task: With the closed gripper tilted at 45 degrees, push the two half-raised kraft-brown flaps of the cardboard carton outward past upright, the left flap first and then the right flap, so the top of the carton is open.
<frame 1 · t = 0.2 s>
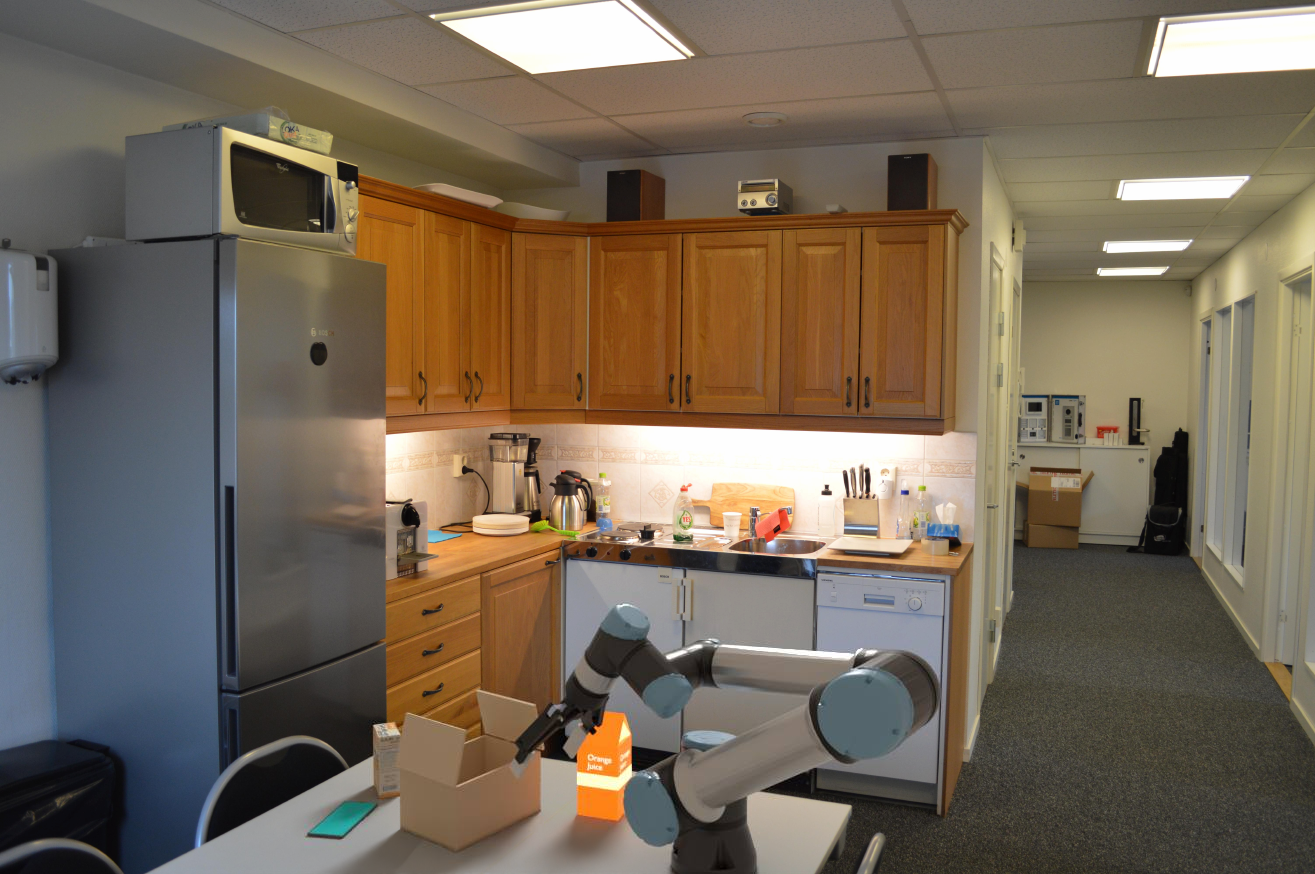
hand: (542, 762, 171), 16 cm above the table, fingers open, 13 cm apart
supplement box: (387, 790, 196), on the table
smartphone: (344, 822, 182), on the table
left flap: (430, 748, 174), point 17 cm above the table, hinge at 75.0°
right flap: (509, 719, 190), point 17 cm above the table, hinge at 75.0°
carton: (472, 819, 183), on the table
orange juice: (604, 810, 187), on the table
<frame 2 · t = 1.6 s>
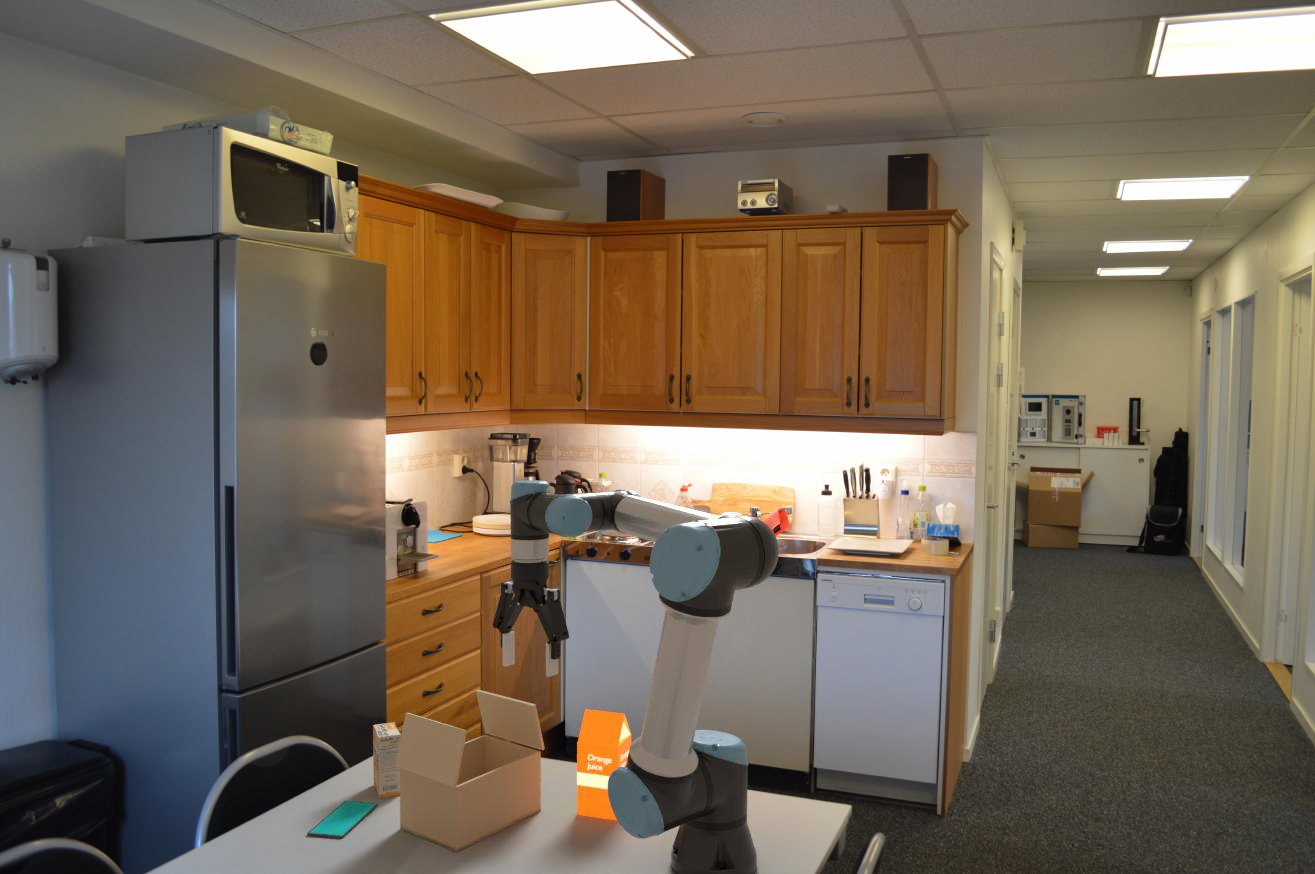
hand: (530, 669, 183), 29 cm above the table, fingers open, 11 cm apart
nothing on the table moved.
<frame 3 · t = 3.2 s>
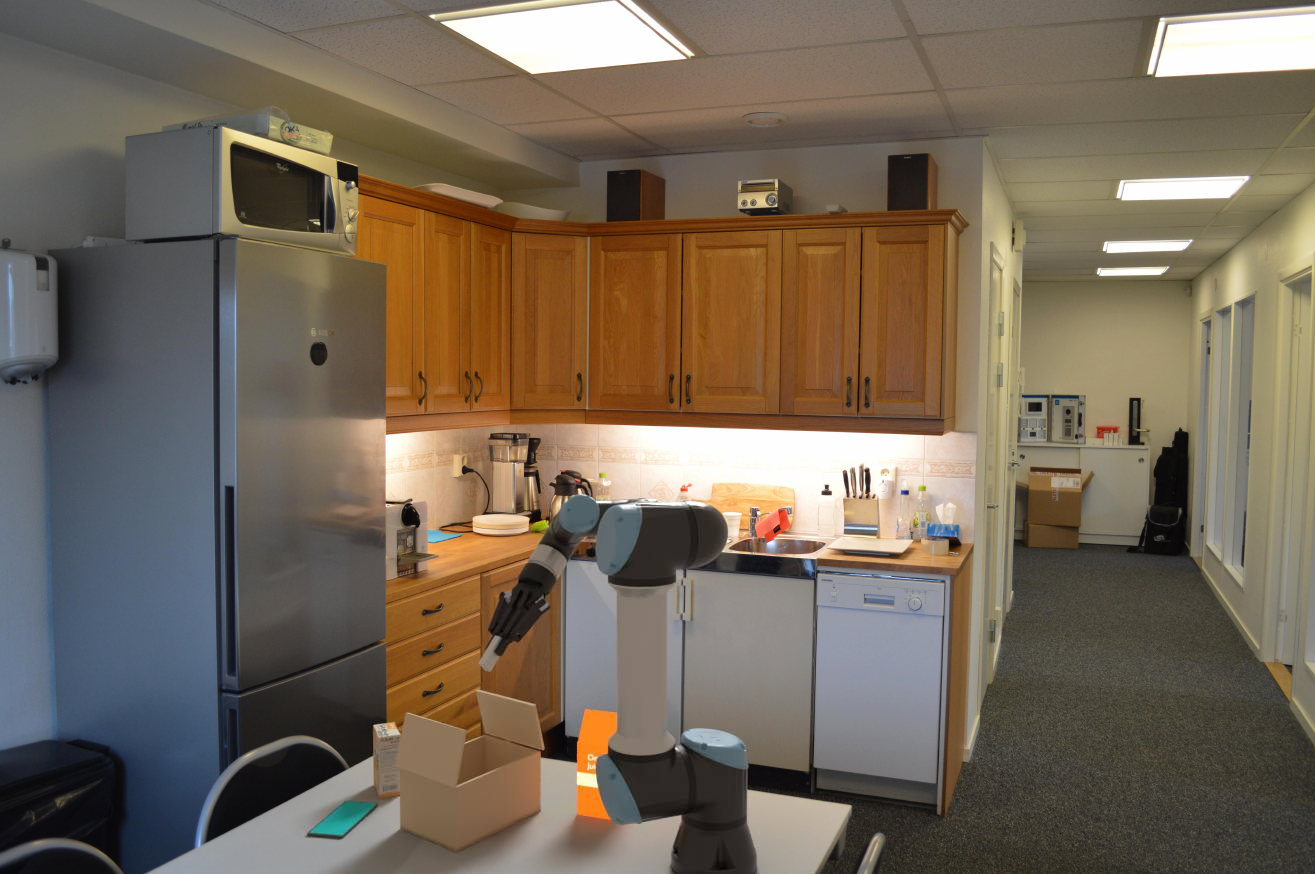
hand: (484, 667, 184), 29 cm above the table, fingers closed
nothing on the table moved.
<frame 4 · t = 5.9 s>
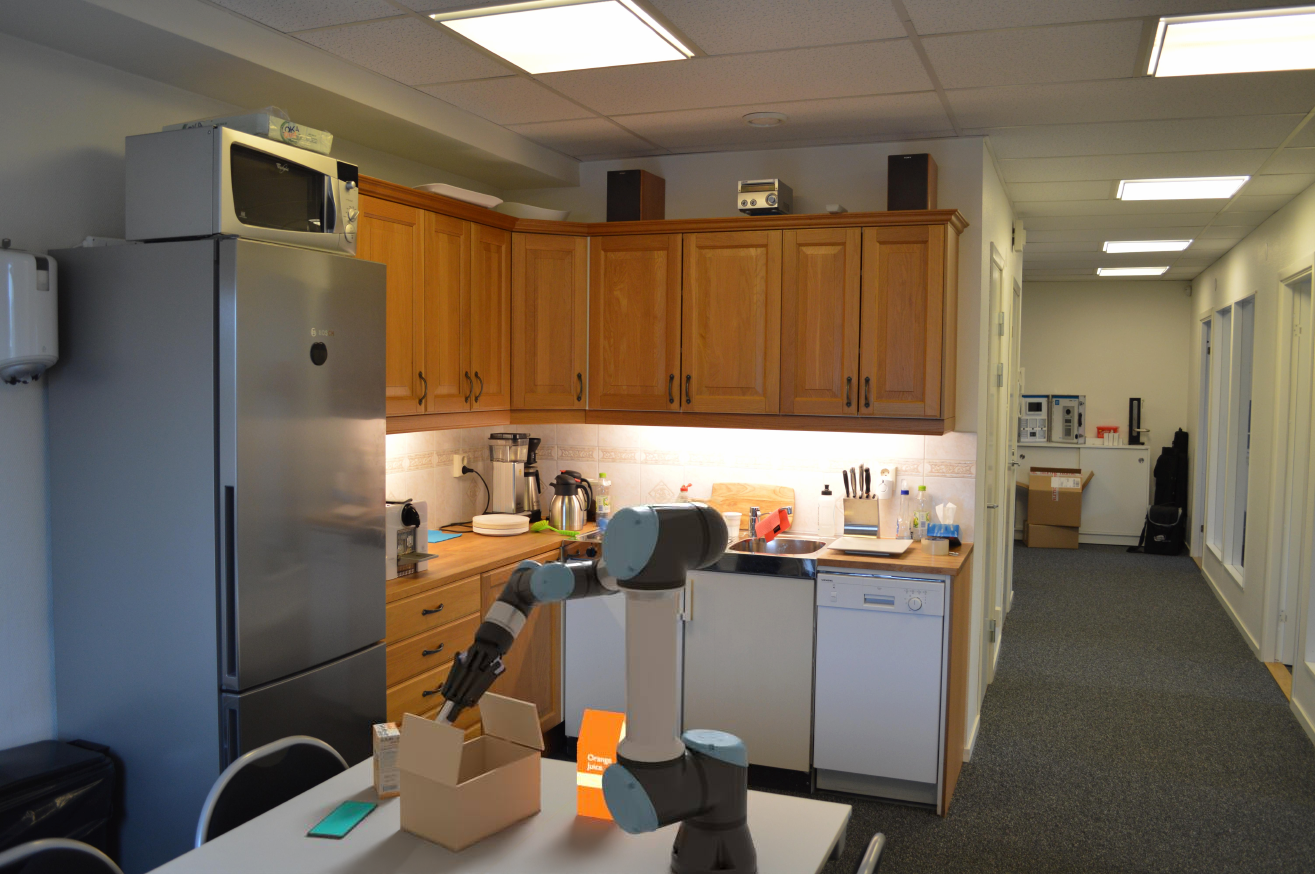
hand: (435, 735, 175), 19 cm above the table, fingers closed
left flap: (429, 748, 174), point 17 cm above the table, hinge at 77.6°, touching gripper
everything else where it was.
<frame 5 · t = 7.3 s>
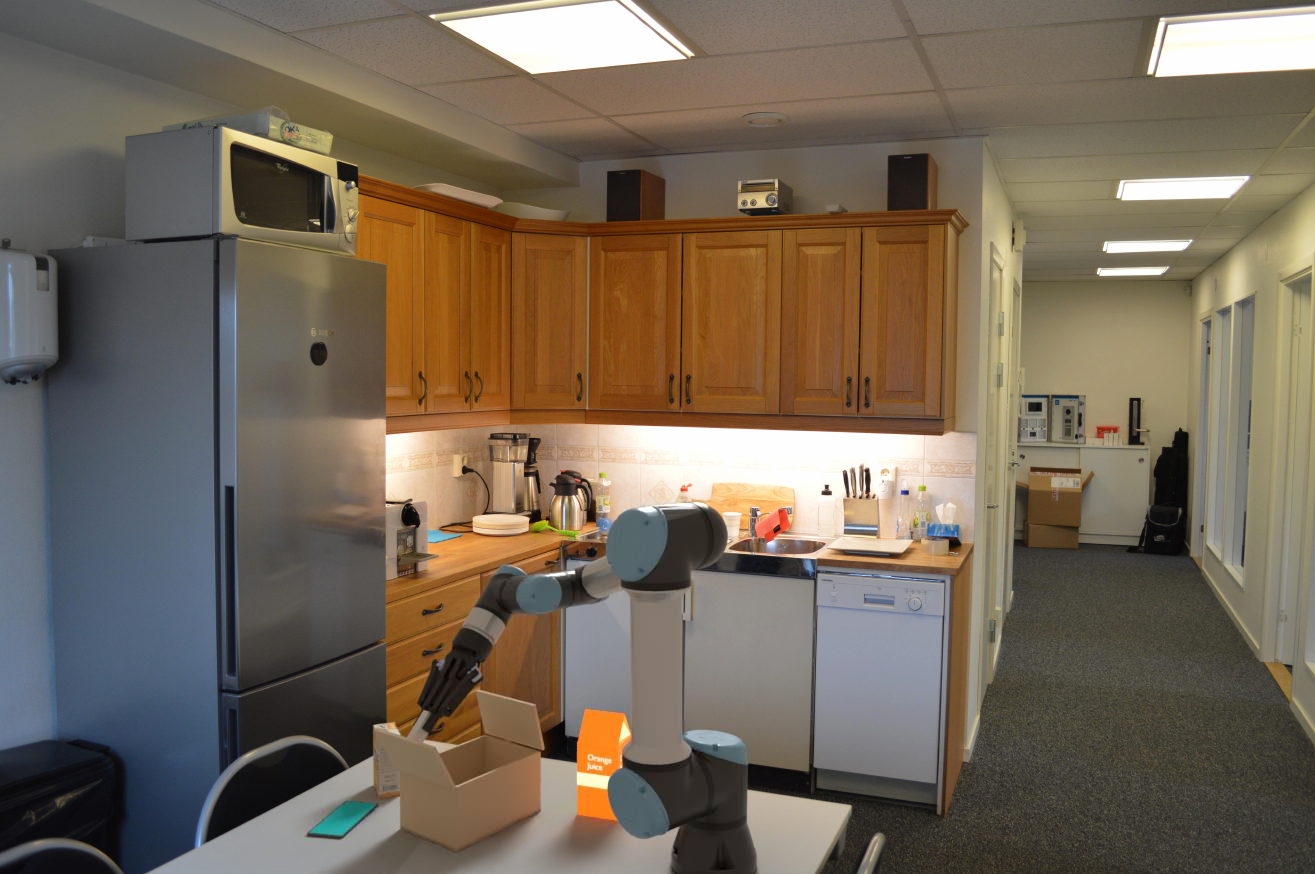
hand: (411, 745, 171), 19 cm above the table, fingers closed
left flap: (414, 757, 171), point 16 cm above the table, hinge at 118.5°, touching gripper
everything else where it was.
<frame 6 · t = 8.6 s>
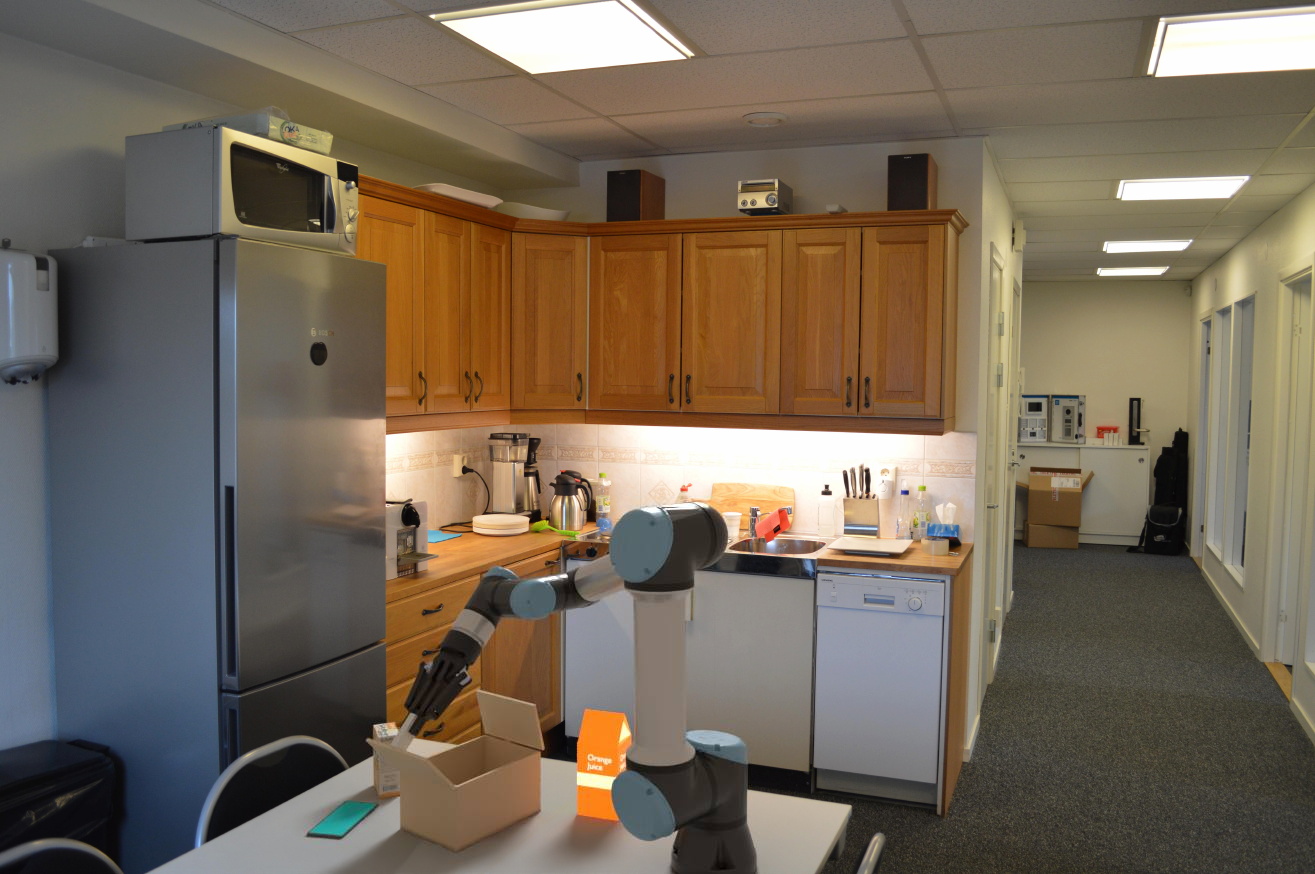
hand: (397, 749, 168), 19 cm above the table, fingers closed
left flap: (410, 763, 170), point 16 cm above the table, hinge at 132.3°, touching gripper
everything else where it was.
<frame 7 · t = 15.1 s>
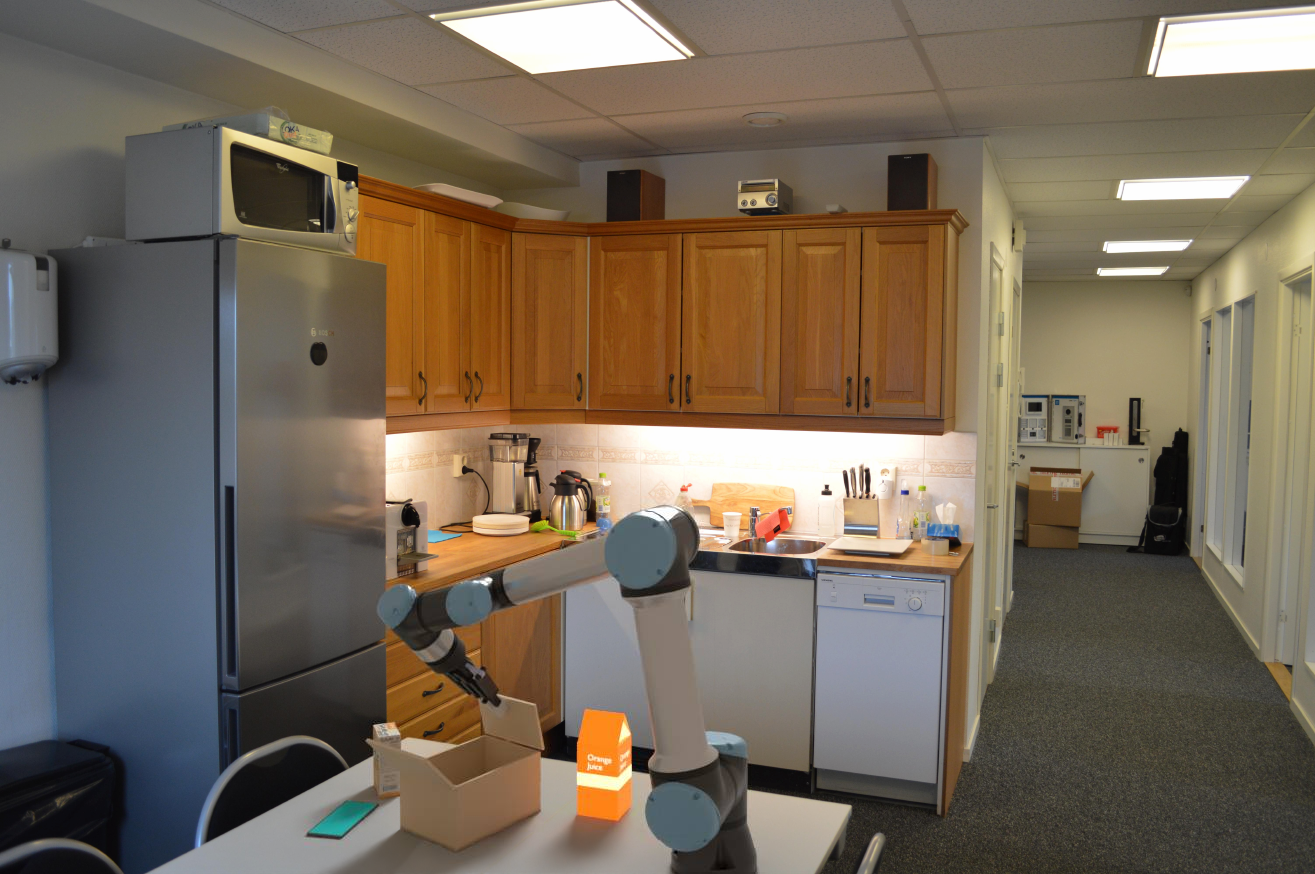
hand: (502, 711, 189), 19 cm above the table, fingers closed
left flap: (410, 763, 170), point 16 cm above the table, hinge at 132.6°
right flap: (509, 718, 190), point 17 cm above the table, hinge at 75.8°, touching gripper
everything else where it was.
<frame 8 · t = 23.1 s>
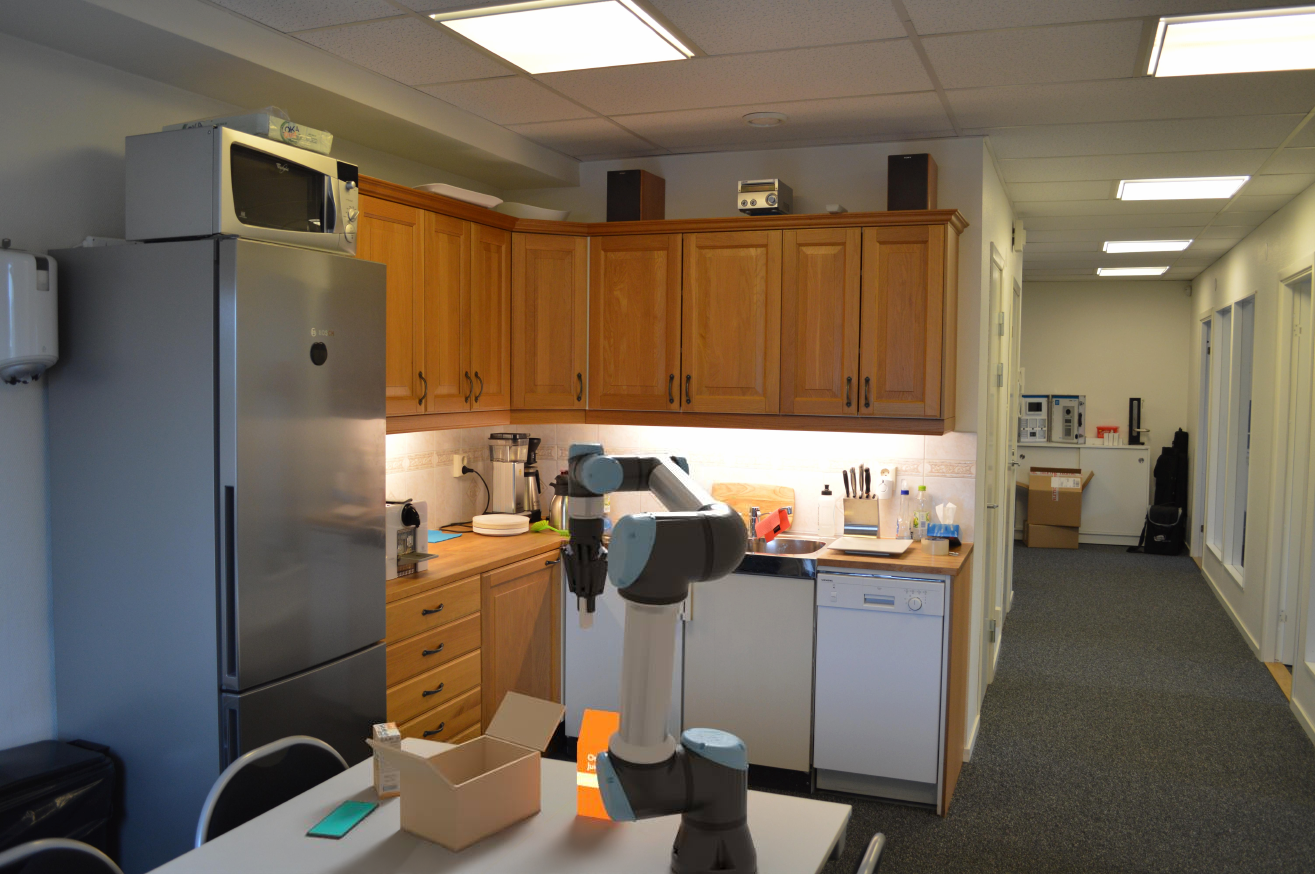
hand: (586, 627, 197), 34 cm above the table, fingers closed
right flap: (525, 719, 194), point 16 cm above the table, hinge at 132.7°
everything else where it was.
at the end: left flap at +133° (first picture: +75°); right flap at +133° (first picture: +75°) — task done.
